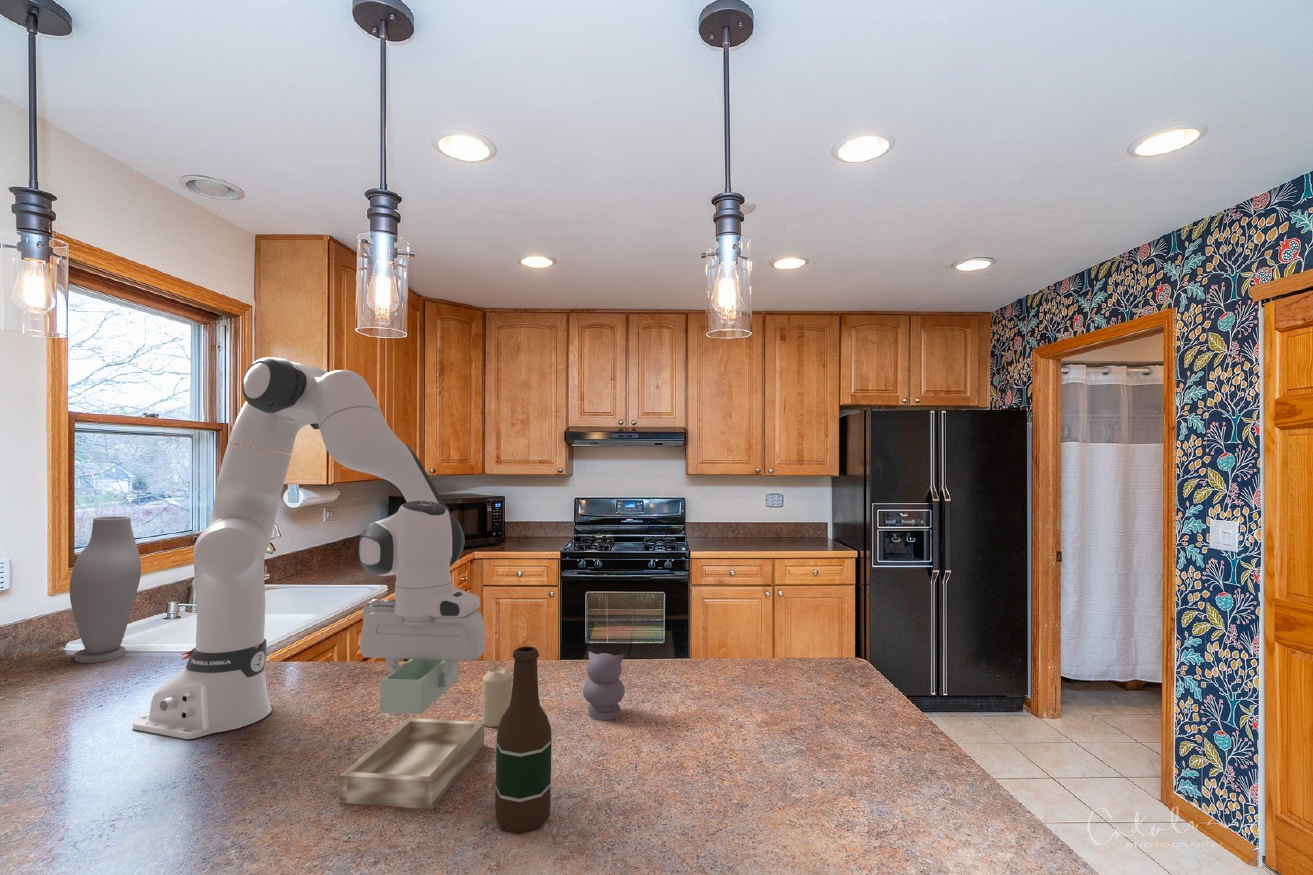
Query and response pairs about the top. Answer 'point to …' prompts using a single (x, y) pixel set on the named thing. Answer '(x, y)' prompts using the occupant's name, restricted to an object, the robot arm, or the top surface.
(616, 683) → the cat figurine
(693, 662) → the top surface
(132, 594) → the vase
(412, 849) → the top surface
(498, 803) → the beer bottle
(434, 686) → the green crate
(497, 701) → the candle
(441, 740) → the box
